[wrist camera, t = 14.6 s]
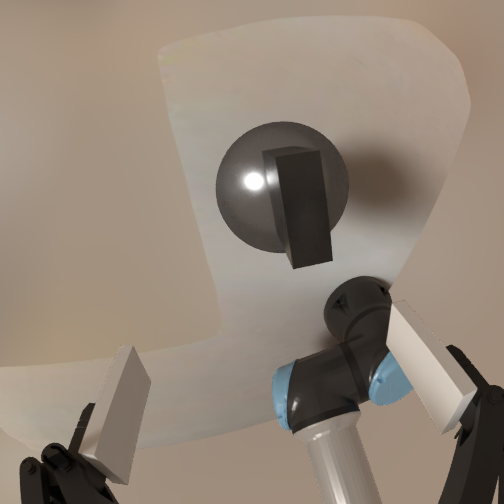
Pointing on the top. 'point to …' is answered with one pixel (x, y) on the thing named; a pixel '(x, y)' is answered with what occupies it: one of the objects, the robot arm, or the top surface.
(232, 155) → the lid
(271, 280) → the top surface
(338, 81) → the top surface
